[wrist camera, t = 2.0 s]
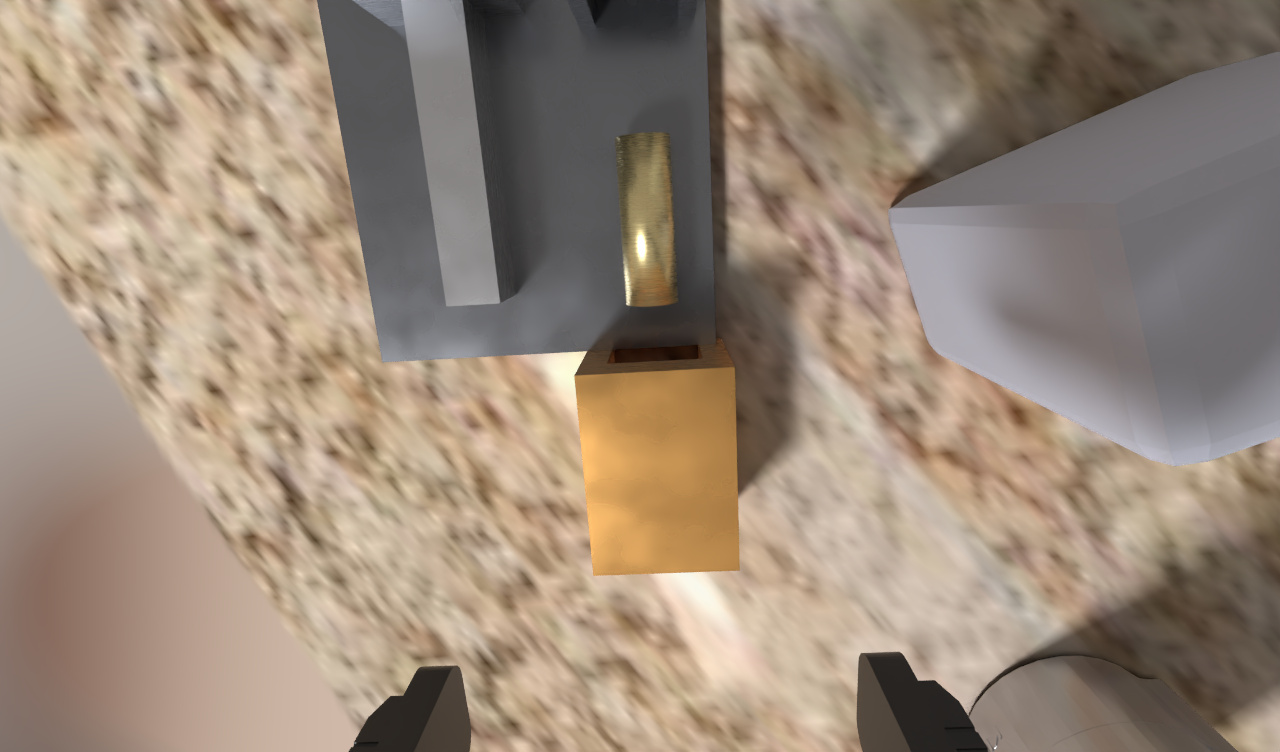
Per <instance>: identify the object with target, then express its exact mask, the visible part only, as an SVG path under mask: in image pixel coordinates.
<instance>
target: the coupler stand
mask: <svg viewBox="0 0 1280 752" xmlns="http://www.w3.org/2000/svg"><path fill="white" fill-rule="evenodd" d="M317 2H318V8H319V13H320V19H321V24H322V30H323V35H324V41H325V47H326V52H327V58H328V63H329V69H330V74H331V80H332V85H333V91H334V96H335V102H336V107H337V113H338V119H339V124H340V130H341V135H342V141H343V146H344V152H345V157H346V163H347V168H348V174H349V179H350V185H351V191H352V196H353V202H354V207H355V213H356V218H357V224H358V229H359V235H360V240H361V246H362V251H363V257H364V263H365V268H366V274H367V279H368V285H369V290H370V296H371V301H372V307H373V312H374V318H375V324H376V329H377V335H378V340H379V346H380V351H381V357H382V362H396V361H415V360H433V359H451V358H469V357H488V356H506V355H524V354H542V353H560V352H579V351H597V350H615V349H633V348H652V347H670V346H688V345H706V344H716V324H715V291H714V259H713V227H712V194H711V162H710V130H709V97H708V65H707V33H706V0H317ZM649 132H661V133H669V134H670V143H671V164H672V186H673V207H674V228H675V249H676V271H677V292H678V302H676V303H673V304H669V305H662V306H649V307H635V306H628V305H626V294H625V280H624V265H623V251H622V237H621V222H620V208H619V193H618V179H617V165H616V150H615V137H618V136H621V135H627V134H635V133H649Z"/></svg>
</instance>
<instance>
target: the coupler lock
mask: <svg viewBox="0 0 1280 752" xmlns="http://www.w3.org/2000/svg"><path fill="white" fill-rule="evenodd" d="M575 386H576V397H577V407H578V418H579V428H580V439H581V449H582V460H583V470H584V481H585V491H586V502H587V512H588V523H589V533H590V544H591V554H592V565H593V575H594V576H598V575H626V574H654V573H681V572H709V571H736V570H740V567H739V523H738V479H737V435H736V391H735V366H734V364H733V362H732V360H731V358H730V356H729V354H728V352H727V350H726V348H725V346H724V344H723V342H722V340H721V339H716V344H706V345H698V359H687V360H669V361H650V362H631V363H615V356H614V350H597V351H587V353H586V355H585V357H584V359H583V361H582V363H581V364H580V366H579V368H578V370H577V372H576V374H575Z"/></svg>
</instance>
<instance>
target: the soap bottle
mask: <svg viewBox="0 0 1280 752" xmlns="http://www.w3.org/2000/svg"><path fill="white" fill-rule="evenodd" d="M888 212H889V223H890V226H891V229H892V232H893V235H894V239H895V242H896V245H897V248H898V251H899V254H900V257H901V260H902V263H903V267H904V270H905V273H906V276H907V279H908V282H909V285H910V288H911V291H912V295H913V298H914V301H915V304H916V307H917V310H918V313H919V316H920V319H921V323H922V326H923V329H924V332H925V335H926V338H927V340H928V342H929V344H930V345H931V346H932V348H933V349H934V350H935V351H936V352H937V353H938V354H939V355H941V356H943V357H945V358H947V359H949V360H951V361H953V362H955V363H957V364H959V365H961V366H963V367H965V368H967V369H969V370H971V371H973V372H975V373H977V374H979V375H981V376H983V377H985V378H987V379H989V380H991V381H993V382H995V383H997V384H999V385H1001V386H1003V387H1005V388H1007V389H1009V390H1011V391H1013V392H1015V393H1017V394H1019V395H1021V396H1023V397H1025V398H1027V399H1029V400H1031V401H1033V402H1035V403H1037V404H1039V405H1041V406H1043V407H1045V408H1047V409H1049V410H1051V411H1053V412H1055V413H1057V414H1059V415H1061V416H1063V417H1065V418H1067V419H1069V420H1071V421H1073V422H1075V423H1077V424H1079V425H1081V426H1083V427H1085V428H1087V429H1089V430H1091V431H1093V432H1095V433H1097V434H1099V435H1101V436H1103V437H1105V438H1107V439H1109V440H1111V441H1113V442H1115V443H1117V444H1119V445H1121V446H1123V447H1125V448H1127V449H1129V450H1131V451H1133V452H1135V453H1137V454H1139V455H1141V456H1143V457H1145V458H1147V459H1149V460H1153V461H1157V462H1161V463H1165V464H1169V465H1173V466H1180V465H1187V464H1194V463H1200V462H1207V461H1210V460H1213V459H1216V458H1219V457H1222V456H1225V455H1228V454H1231V453H1234V452H1237V451H1240V450H1242V449H1245V448H1248V447H1251V446H1254V445H1257V444H1260V443H1263V442H1266V441H1269V440H1272V439H1275V438H1277V437H1280V51H1278V52H1274V53H1270V54H1266V55H1263V56H1259V57H1255V58H1251V59H1248V60H1244V61H1240V62H1236V63H1233V64H1229V65H1225V66H1221V67H1217V68H1214V69H1210V70H1206V71H1202V72H1199V73H1195V74H1191V75H1189V76H1187V77H1184V78H1182V79H1179V80H1177V81H1175V82H1172V83H1170V84H1168V85H1165V86H1163V87H1161V88H1158V89H1156V90H1154V91H1151V92H1149V93H1147V94H1144V95H1142V96H1140V97H1137V98H1135V99H1133V100H1130V101H1128V102H1126V103H1123V104H1121V105H1119V106H1116V107H1114V108H1112V109H1109V110H1107V111H1105V112H1102V113H1100V114H1098V115H1095V116H1093V117H1091V118H1088V119H1086V120H1084V121H1081V122H1079V123H1077V124H1074V125H1072V126H1070V127H1067V128H1065V129H1063V130H1060V131H1058V132H1056V133H1053V134H1051V135H1049V136H1046V137H1044V138H1042V139H1039V140H1037V141H1035V142H1032V143H1030V144H1028V145H1025V146H1023V147H1021V148H1018V149H1016V150H1014V151H1011V152H1009V153H1007V154H1004V155H1002V156H1000V157H997V158H995V159H993V160H990V161H988V162H986V163H983V164H981V165H979V166H976V167H974V168H972V169H969V170H967V171H965V172H962V173H960V174H958V175H955V176H953V177H951V178H948V179H946V180H944V181H941V182H939V183H937V184H934V185H932V186H930V187H927V188H925V189H923V190H920V191H918V192H916V193H913V194H911V195H909V196H907V197H905V198H904V199H903V200H902V201H900V202H899V203H898V204H896V205H895V206H893V207H892V208H890V209H889V210H888Z"/></svg>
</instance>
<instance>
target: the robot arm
mask: <svg viewBox="0 0 1280 752" xmlns="http://www.w3.org/2000/svg"><path fill="white" fill-rule="evenodd" d="M857 727H858V734H859V739H860V743H861V747H862V750H863V752H1238V751H1237V750H1236V749H1235V748H1234V747H1233V746H1232V745H1231V744H1230V743H1229V742H1228V741H1226V740H1225V739H1224V738H1223V737H1222V736H1221V735H1220V734H1219V733H1218V732H1217V731H1216V730H1215V729H1214V728H1212V727H1211V726H1210V725H1209V724H1208V723H1207V722H1206V721H1205V720H1204V719H1203V718H1202V717H1201V716H1200V715H1198V714H1197V713H1196V712H1195V711H1194V710H1193V709H1192V708H1191V707H1190V706H1189V705H1188V704H1187V703H1186V702H1184V701H1183V700H1182V699H1181V698H1180V697H1179V696H1178V695H1177V694H1176V693H1175V692H1174V691H1173V690H1172V689H1170V688H1169V687H1168V686H1167V685H1166V684H1165V683H1164V682H1163V681H1162V680H1160V679H1142V678H1138V677H1136V676H1134V675H1133V674H1131V673H1130V672H1128V671H1127V670H1125V669H1123V668H1122V667H1120V666H1119V665H1116V664H1114V663H1111V662H1108V661H1105V660H1103V659H1099V658H1093V657H1086V656H1058V657H1053V658H1047V659H1042V660H1038V661H1035V662H1033V663H1030V664H1027V665H1025V666H1022V667H1019V668H1018V669H1016V670H1014V671H1012V672H1011V673H1009V674H1007V675H1005V676H1004V677H1002V678H1001V679H1000V680H998V681H997V682H996V683H995V684H994V685H992V686H991V687H990V688H989V689H988V690H987V691H986V692H985V693H984V694H983V695H982V697H981V698H980V699H979V700H978V702H977V703H976V704H975V706H974V708H973V710H972V712H971V714H970V716H969V717H968V715H967V714H966V712H965V710H964V709H963V707H962V706H961V704H960V702H959V701H958V700H957V699H956V698H954V697H953V696H952V695H951V694H950V693H949V692H947V691H946V690H945V689H944V688H943V687H942V686H941V685H939V684H938V683H937V682H936V681H935V680H930V681H918V680H917V678H916V676H915V675H914V673H913V671H912V669H911V667H910V666H909V664H908V662H907V660H906V659H905V657H904V656H903V654H902V653H900V652H883V653H861V654H860V657H859V665H858V692H857ZM470 743H471V725H470V719H469V713H468V707H467V702H466V696H465V690H464V684H463V678H462V673H461V670H460V668H459V667H458V666H429V667H420V668H419V669H418V670H417V671H416V673H415V675H414V677H413V678H412V680H411V682H410V684H409V686H408V688H407V690H406V692H405V694H404V696H390V697H389V698H388V699H387V700H386V701H385V702H384V703H383V704H382V705H381V706H380V707H379V708H378V709H377V710H376V711H375V712H374V713H373V714H372V715H371V716H369V717H368V719H367V721H366V722H365V724H364V726H363V728H362V729H361V731H360V733H359V735H358V736H357V738H356V740H355V742H354V747H351V749H350V751H349V752H469V751H470Z"/></svg>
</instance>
